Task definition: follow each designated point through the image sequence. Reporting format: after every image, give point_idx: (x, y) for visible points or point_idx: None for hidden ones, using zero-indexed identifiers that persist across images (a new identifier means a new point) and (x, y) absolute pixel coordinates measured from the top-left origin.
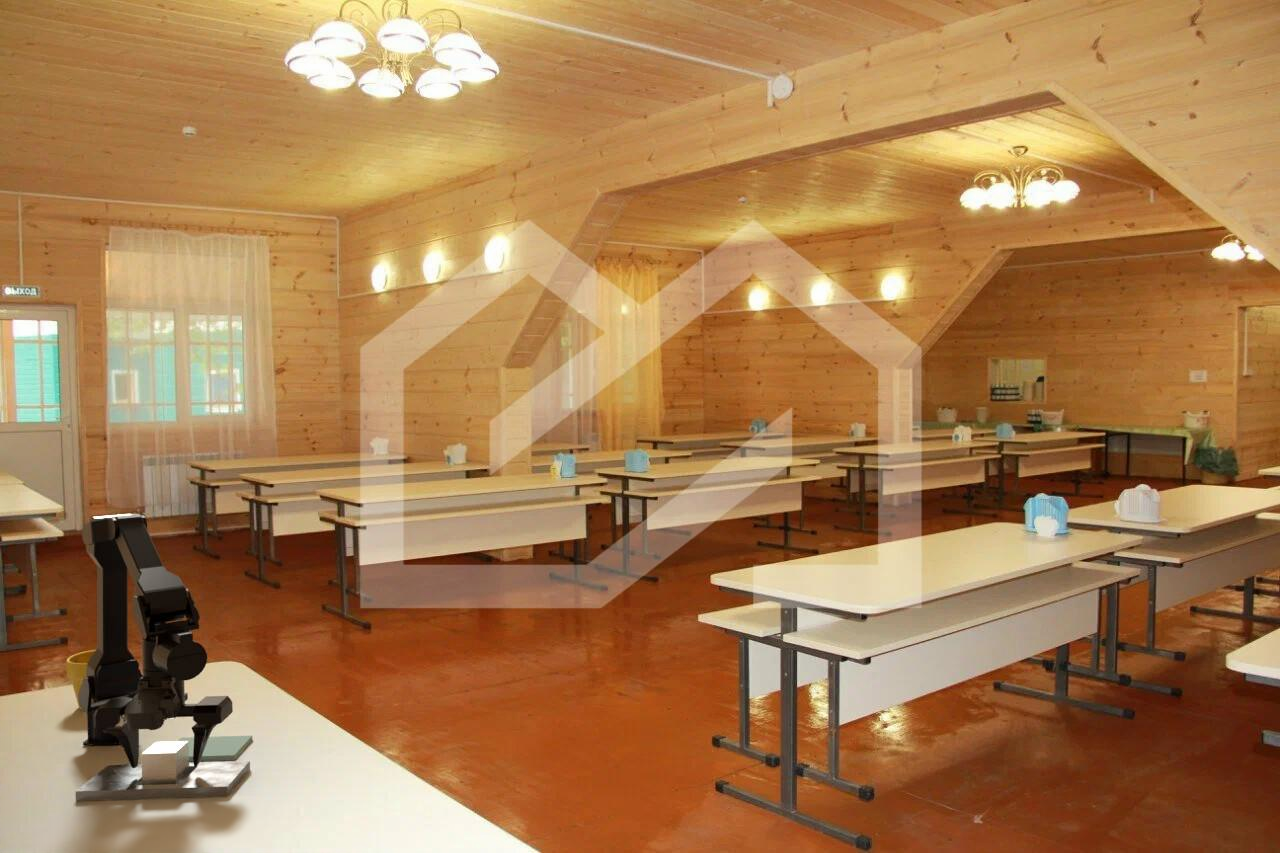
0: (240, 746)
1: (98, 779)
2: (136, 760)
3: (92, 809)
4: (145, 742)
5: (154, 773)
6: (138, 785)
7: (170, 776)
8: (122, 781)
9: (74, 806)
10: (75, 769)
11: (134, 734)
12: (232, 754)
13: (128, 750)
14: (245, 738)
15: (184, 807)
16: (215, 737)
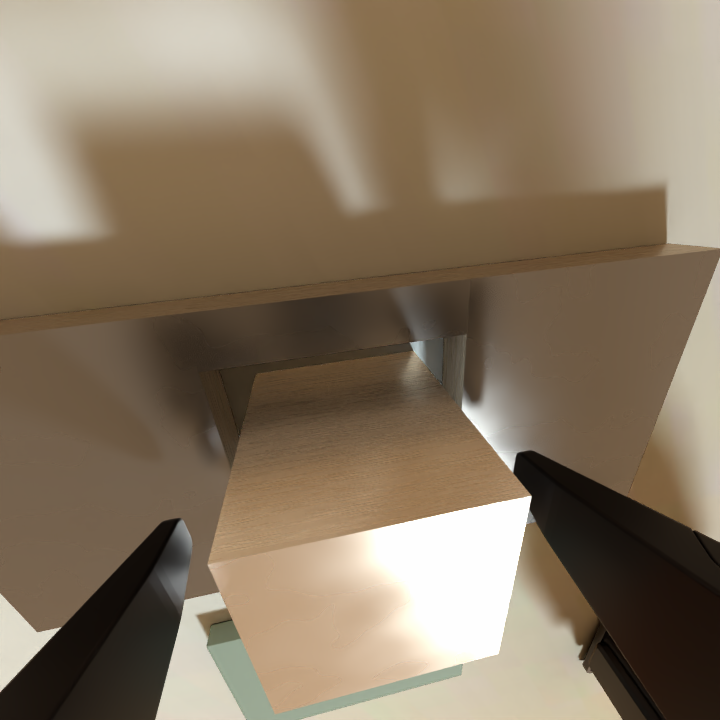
0: (236, 687)
1: (638, 386)
2: (535, 494)
3: (579, 139)
4: (546, 636)
5: (376, 408)
6: (434, 336)
7: (278, 411)
8: (531, 376)
9: (666, 183)
10: (692, 489)
11: (713, 704)
12: (217, 648)
13: (647, 526)
14: (261, 718)
15: (30, 156)
16: (361, 698)
